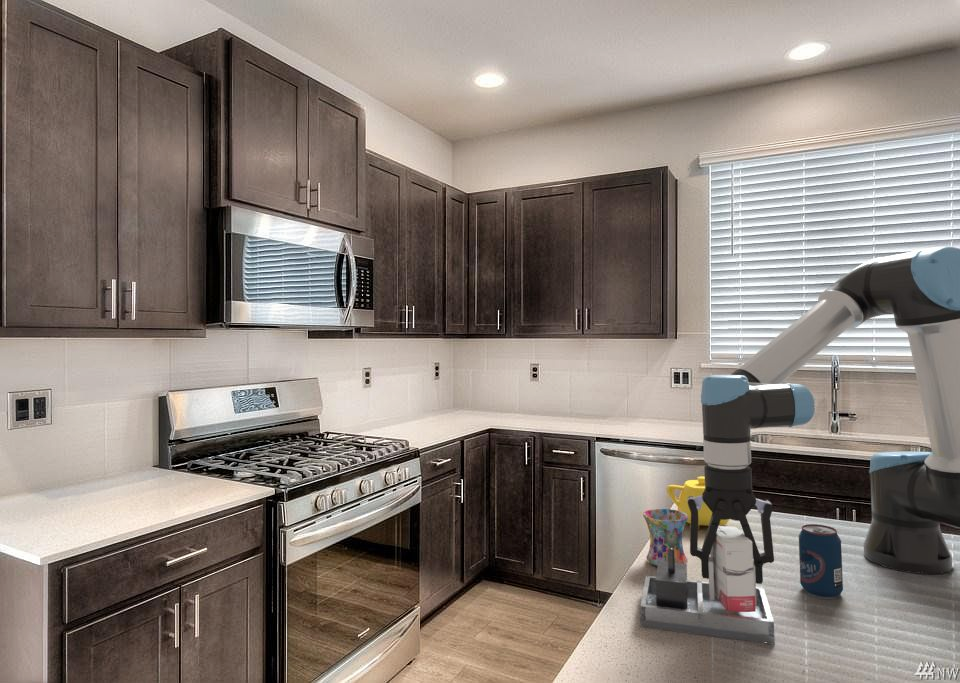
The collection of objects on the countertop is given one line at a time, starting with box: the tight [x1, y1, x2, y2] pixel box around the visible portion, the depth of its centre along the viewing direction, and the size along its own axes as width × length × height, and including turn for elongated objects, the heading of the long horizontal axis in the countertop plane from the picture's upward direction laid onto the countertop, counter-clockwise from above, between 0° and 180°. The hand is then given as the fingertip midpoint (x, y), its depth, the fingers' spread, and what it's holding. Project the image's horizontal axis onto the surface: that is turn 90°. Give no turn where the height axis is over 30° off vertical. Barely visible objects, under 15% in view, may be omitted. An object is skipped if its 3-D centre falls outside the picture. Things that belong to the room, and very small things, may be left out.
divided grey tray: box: [640, 548, 776, 645], centre depth 101 cm, size 20×14×11 cm
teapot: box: [666, 476, 730, 530], centre depth 151 cm, size 13×20×12 cm
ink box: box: [709, 525, 756, 612], centre depth 99 cm, size 9×5×12 cm, turn 175°
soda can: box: [798, 523, 844, 600], centre depth 109 cm, size 7×7×12 cm
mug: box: [642, 508, 688, 567], centre depth 127 cm, size 12×9×11 cm
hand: (732, 598), depth 99 cm, fingers closed on ink box, 6 cm apart
